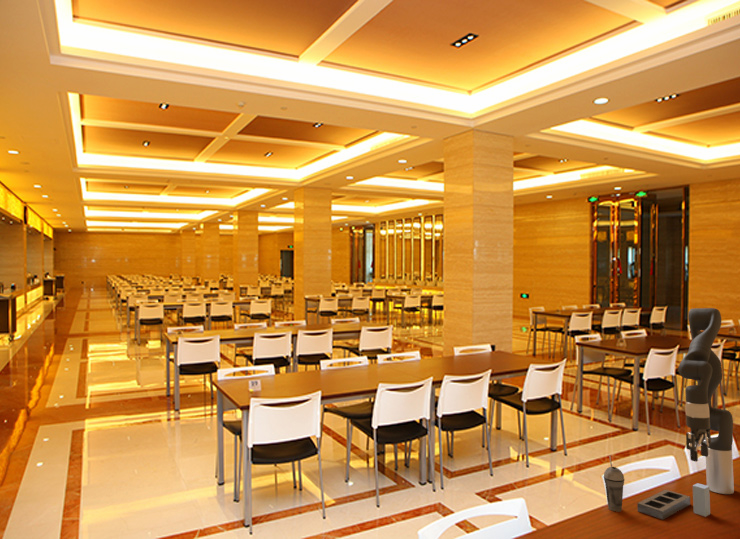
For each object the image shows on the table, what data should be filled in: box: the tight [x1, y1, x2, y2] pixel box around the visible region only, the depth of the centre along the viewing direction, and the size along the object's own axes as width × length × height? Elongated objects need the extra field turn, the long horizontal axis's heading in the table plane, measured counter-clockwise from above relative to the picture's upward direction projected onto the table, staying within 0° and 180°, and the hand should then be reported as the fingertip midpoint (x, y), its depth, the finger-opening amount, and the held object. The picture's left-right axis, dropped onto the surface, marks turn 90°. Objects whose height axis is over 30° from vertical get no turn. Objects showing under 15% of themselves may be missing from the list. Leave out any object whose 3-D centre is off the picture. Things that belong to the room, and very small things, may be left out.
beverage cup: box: [603, 454, 625, 513], centre depth 192 cm, size 7×7×20 cm
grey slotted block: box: [637, 489, 691, 520], centre depth 193 cm, size 22×9×3 cm, turn 125°
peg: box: [692, 482, 711, 518], centre depth 188 cm, size 4×4×10 cm
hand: (699, 458), depth 188 cm, fingers open, 8 cm apart
